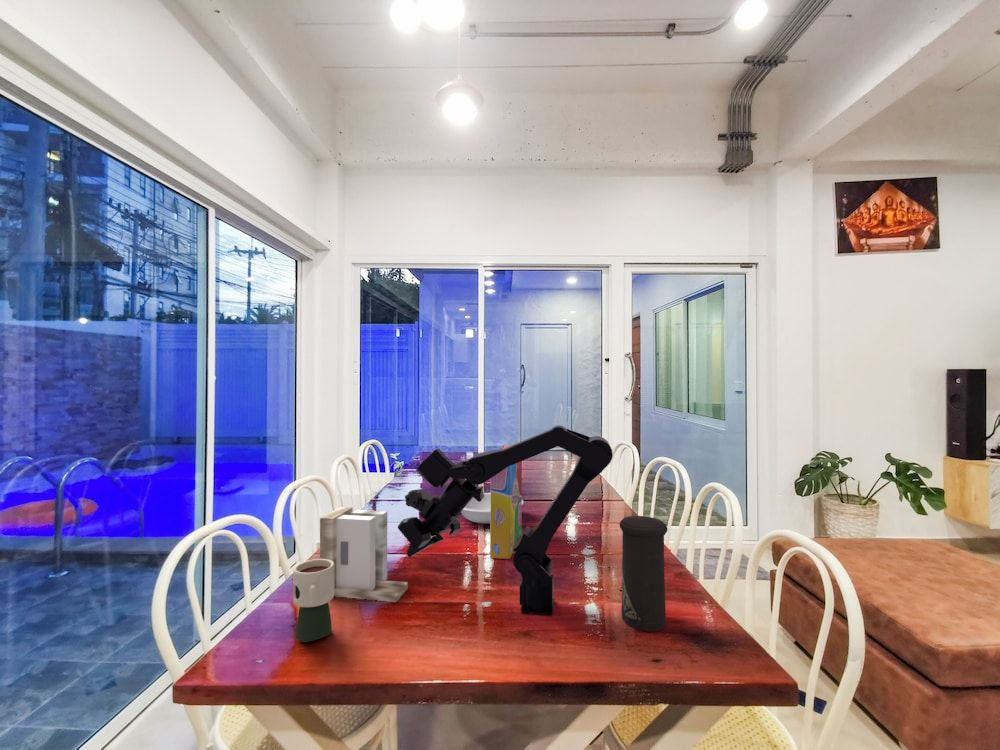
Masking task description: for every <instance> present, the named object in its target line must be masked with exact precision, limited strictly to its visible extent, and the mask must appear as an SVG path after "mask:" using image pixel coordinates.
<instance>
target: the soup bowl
mask: <svg viewBox="0 0 1000 750" xmlns="http://www.w3.org/2000/svg"><path fill="white" fill-rule="evenodd" d="M483 493H484V498H483V499H482V500H481V501H480V502H478V501H477V500H476V499H475V498H474V497H473V498H472V499H471V500H470V501H469V503H468V504H467V505H466V506H465V508H464V509H463V510H462V511H461V513H462V515H461V516H463V517H464V518H465V519H467V520H469V521H471V522H474V523H477V524H485V525H486V524H488V525H490V502H491V492H483ZM523 505H524V499H522V506H523Z"/></svg>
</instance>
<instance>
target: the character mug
mask: <svg viewBox="0 0 1000 750" xmlns="http://www.w3.org/2000/svg"><path fill="white" fill-rule="evenodd" d="M292 573H293V574H292V577H293V578H292V601H293V604H294V605H296V606H297V607H299V609H298V615H297V621H296V622H297V623H296V629H295V639H296V640H297V641H298V642H301V643H308V642H312V641H313V642H314V641H317V640H319V639H323V638H325V637H327V636H329V635H330V634H331V633H332V629H333V628H332V617H331V611H330V604H329V602H331V601H332V600H333V599H334V598H335V597H334V562H333V561H331V560H329V559H320V558H314V559H308V560H305V561H303V562H300V563H298V564H297V565H295V566H293V569H292Z"/></svg>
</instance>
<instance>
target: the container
mask: <svg viewBox="0 0 1000 750" xmlns="http://www.w3.org/2000/svg"><path fill="white" fill-rule="evenodd" d="M619 528H620V530H621V531H622V541H621V542H622V547H621V548H622V555H621V556H622V561H621V565H622V566H621V609H620V610H621V611H620V612H621V619H622V621H623V622H624V623H625V624H626V625H627V626H629V627H631V628H633V629H635V630H637V631H642V632H658V631H661V630H663V629H664V628H665V627H666V624H667V615H666V613H667V612H666V584H665V583H666V581H665V580H666V579H665V576H666V574H665V535H666V534H667V533H668V526H667V524H666V523H665V522H664V521H663V520H661V519H658V518H655V517H651V516H646V515H645V516H644V515H630V516H626V517H624V518H622V519H621V520H620V522H619Z"/></svg>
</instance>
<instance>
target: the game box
mask: <svg viewBox="0 0 1000 750" xmlns="http://www.w3.org/2000/svg"><path fill="white" fill-rule="evenodd" d="M509 446H510V445H509ZM509 446H508V445H505V446H504V447H502V448H501V449H504V448H507V447H509ZM522 462H523V461H521V462H518V463H516V464H513V465H511V466H508V467H507V468H505V469H504V470H502V471H501V472H499V473H498V474H496V475H495V476H494V477H492V478H490V493H491V502H490V524H489V525H490V527H489V529H490V536H489V537H490V538H489V539H490V541H489V543H490V544H489V545H490V547H489V548H490V549H489V550H490V551H489V554H490V556H489V557H490V558H491V559H500V560H501V559H502V560H503V559H504V560H510V559H511V558H512V557H513V555H514V551H513V549H514V546H515V544H516V541H517V539H518V538H519V537H521V536H522V534H523V528H522V527H523V516H522V514H523V513H522V511H523V508H522V507H523V505H522V500H523V493H522V490H523V488H522V486H523V485H522V483H523V481H522V480H523V479H522V476H523V474H522V472H523V471H522V468H523V467H522V466H523V465H522Z"/></svg>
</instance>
